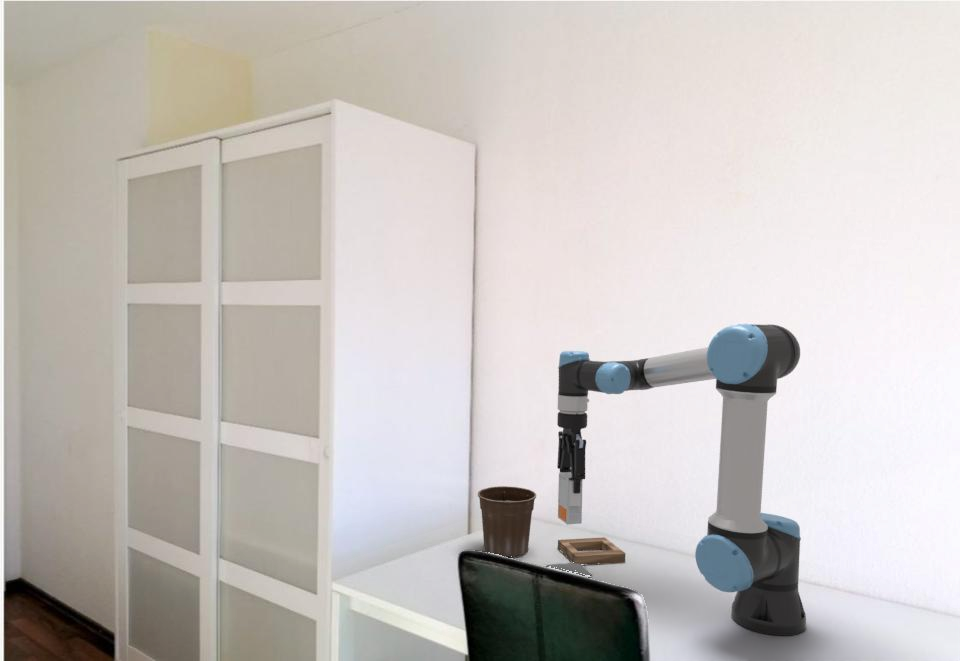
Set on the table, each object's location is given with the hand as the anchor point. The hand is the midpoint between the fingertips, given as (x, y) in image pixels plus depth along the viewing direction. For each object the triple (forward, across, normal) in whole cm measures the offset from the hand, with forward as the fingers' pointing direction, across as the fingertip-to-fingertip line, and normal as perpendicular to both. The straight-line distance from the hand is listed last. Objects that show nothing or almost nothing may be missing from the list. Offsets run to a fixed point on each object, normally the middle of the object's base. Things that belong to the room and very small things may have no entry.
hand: (570, 501), depth 189 cm
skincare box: (+5, 0, 0) cm, 5 cm away
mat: (+18, 0, 0) cm, 18 cm away
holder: (+18, +11, -11) cm, 24 cm away
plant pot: (+18, +18, +11) cm, 28 cm away
